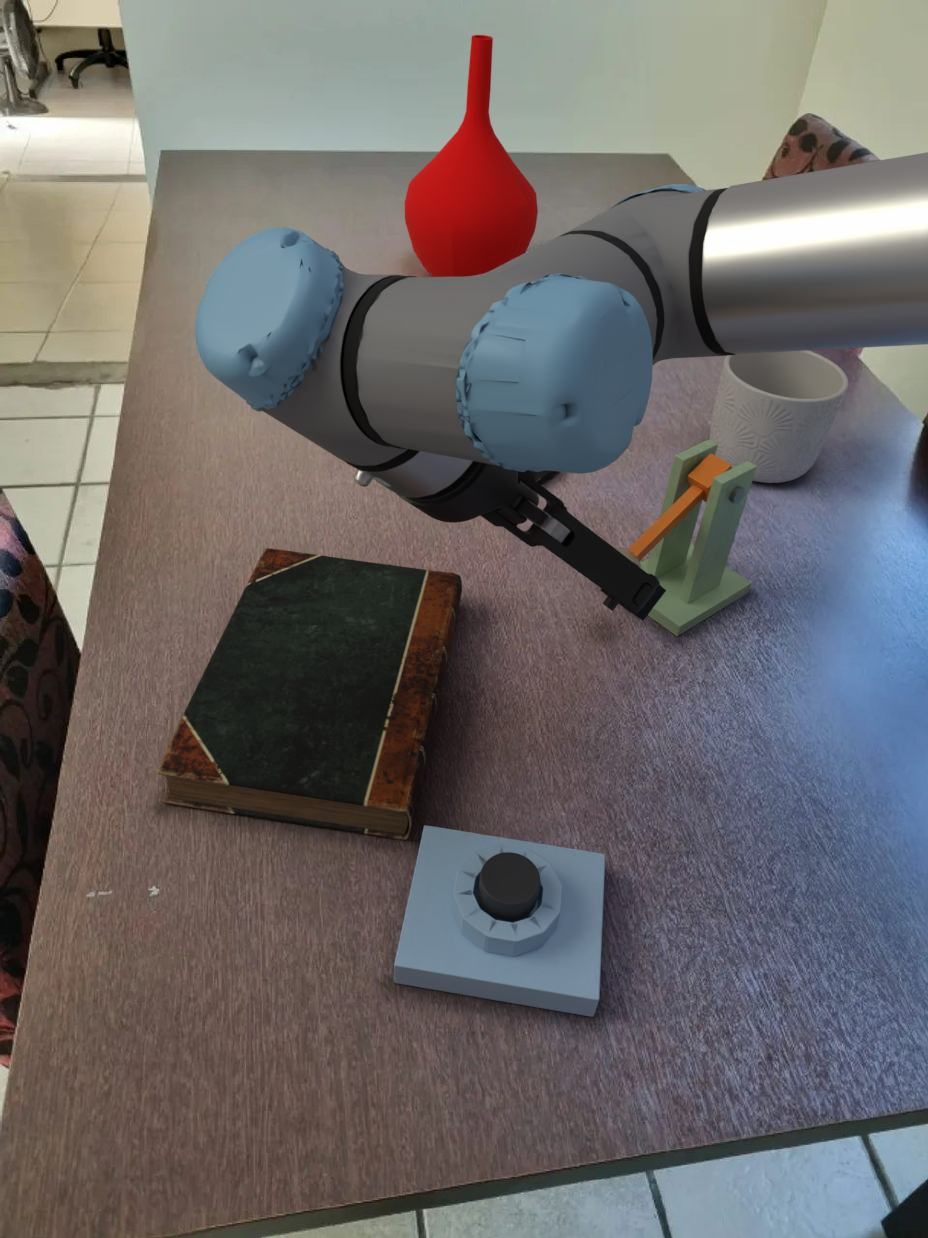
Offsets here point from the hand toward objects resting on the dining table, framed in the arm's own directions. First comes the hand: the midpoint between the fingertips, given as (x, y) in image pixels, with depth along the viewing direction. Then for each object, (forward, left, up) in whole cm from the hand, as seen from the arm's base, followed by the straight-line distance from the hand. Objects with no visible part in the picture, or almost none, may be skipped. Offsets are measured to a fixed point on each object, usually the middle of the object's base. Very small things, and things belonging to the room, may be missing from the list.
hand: (583, 554), depth 70 cm
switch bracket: (-10, -11, -11) cm, 18 cm away
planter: (-19, -35, -11) cm, 41 cm away
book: (+18, +8, -11) cm, 22 cm away
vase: (+19, -76, -11) cm, 79 cm away
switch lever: (-7, -8, -3) cm, 11 cm away
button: (+2, +25, -7) cm, 26 cm away
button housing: (+2, +25, -11) cm, 27 cm away
